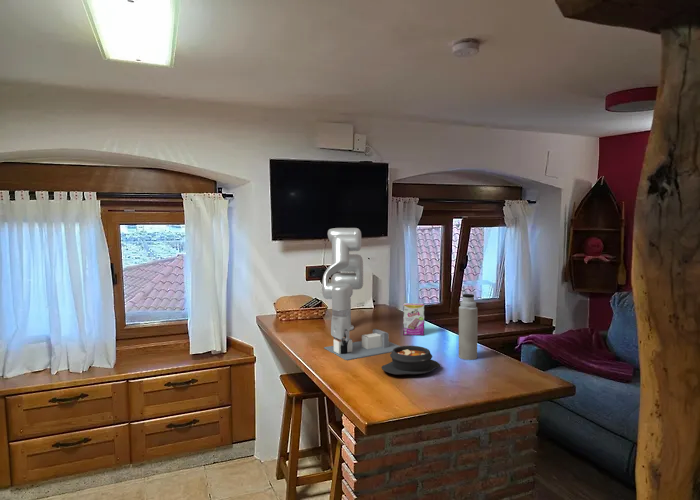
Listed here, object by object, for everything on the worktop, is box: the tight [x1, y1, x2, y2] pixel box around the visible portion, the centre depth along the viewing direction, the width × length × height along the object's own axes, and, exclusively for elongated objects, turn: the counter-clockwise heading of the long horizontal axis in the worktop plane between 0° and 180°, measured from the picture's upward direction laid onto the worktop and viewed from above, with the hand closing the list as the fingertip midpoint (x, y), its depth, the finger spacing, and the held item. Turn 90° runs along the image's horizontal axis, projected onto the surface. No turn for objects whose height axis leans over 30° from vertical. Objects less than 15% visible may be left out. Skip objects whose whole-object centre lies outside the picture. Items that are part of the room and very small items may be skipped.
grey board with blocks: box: [323, 328, 401, 361], centre depth 217 cm, size 22×32×7 cm
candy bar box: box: [402, 302, 425, 336], centre depth 242 cm, size 11×5×16 cm, turn 84°
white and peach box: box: [333, 338, 353, 354], centre depth 211 cm, size 5×7×6 cm
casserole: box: [381, 345, 441, 376], centre depth 186 cm, size 25×19×8 cm
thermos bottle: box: [458, 293, 479, 361], centre depth 202 cm, size 8×8×28 cm
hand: (340, 351), depth 211 cm, fingers closed on white and peach box, 5 cm apart
